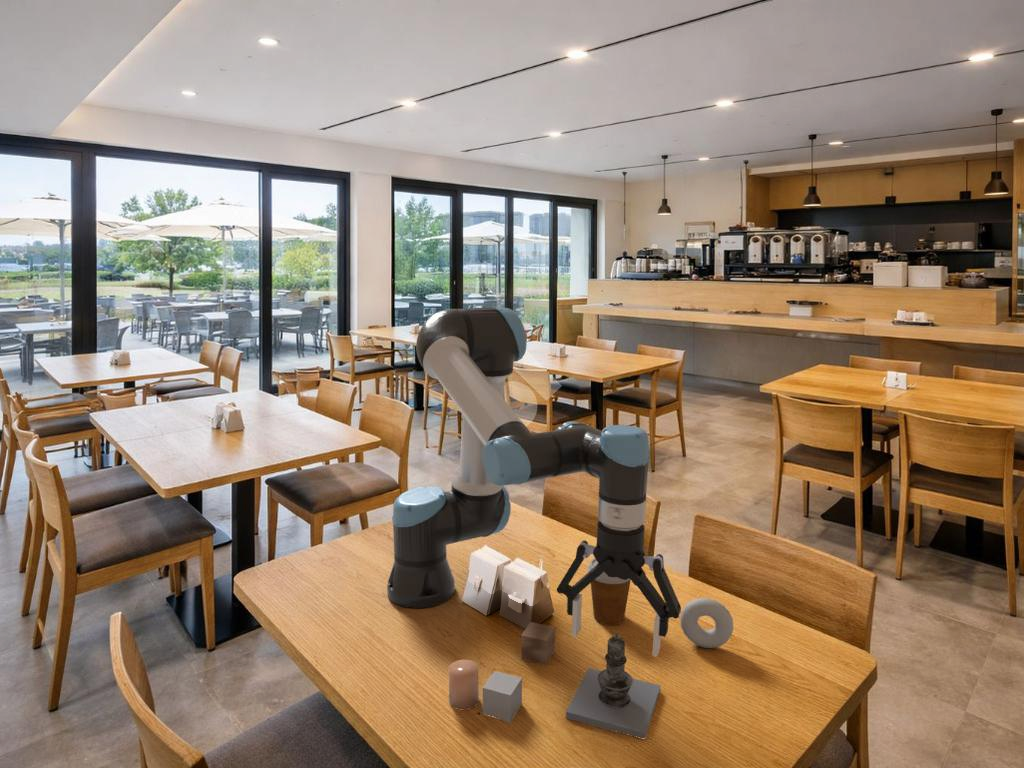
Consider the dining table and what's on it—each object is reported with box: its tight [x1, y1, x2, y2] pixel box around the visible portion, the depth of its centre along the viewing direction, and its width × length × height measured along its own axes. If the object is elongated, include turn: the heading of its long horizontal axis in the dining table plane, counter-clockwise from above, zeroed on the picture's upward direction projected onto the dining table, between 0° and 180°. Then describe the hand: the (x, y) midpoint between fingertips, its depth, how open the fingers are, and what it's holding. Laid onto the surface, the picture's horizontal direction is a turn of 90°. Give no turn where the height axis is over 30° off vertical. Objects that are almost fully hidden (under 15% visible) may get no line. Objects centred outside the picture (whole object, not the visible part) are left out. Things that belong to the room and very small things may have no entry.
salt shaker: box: [597, 632, 633, 708], centre depth 111 cm, size 6×6×12 cm
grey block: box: [482, 670, 523, 723], centre depth 111 cm, size 5×5×5 cm
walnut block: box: [520, 621, 556, 666], centre depth 126 cm, size 5×5×5 cm
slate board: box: [565, 667, 661, 739], centre depth 112 cm, size 13×13×1 cm
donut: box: [679, 597, 735, 649], centre depth 129 cm, size 10×4×10 cm, turn 70°
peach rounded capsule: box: [448, 659, 479, 710], centre depth 113 cm, size 5×5×6 cm
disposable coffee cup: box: [587, 557, 632, 626], centre depth 139 cm, size 10×10×12 cm
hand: (615, 642), depth 111 cm, fingers open, 13 cm apart
